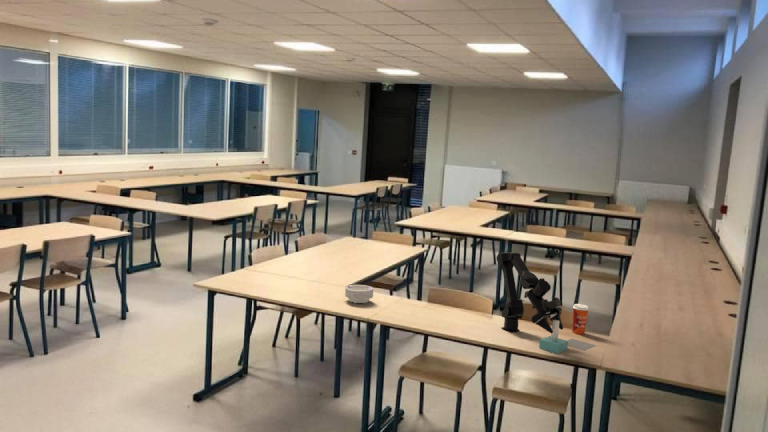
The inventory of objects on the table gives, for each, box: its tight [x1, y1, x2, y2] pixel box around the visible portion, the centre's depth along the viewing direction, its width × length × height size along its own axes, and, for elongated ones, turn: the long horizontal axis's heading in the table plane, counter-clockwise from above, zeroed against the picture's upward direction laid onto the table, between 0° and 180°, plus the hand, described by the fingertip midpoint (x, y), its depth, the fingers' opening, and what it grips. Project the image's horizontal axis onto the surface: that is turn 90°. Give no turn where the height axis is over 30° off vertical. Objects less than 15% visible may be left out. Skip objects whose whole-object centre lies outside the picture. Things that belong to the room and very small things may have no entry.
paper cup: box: [571, 303, 590, 336], centre depth 303 cm, size 8×8×14 cm
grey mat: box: [566, 338, 597, 351], centre depth 285 cm, size 12×12×1 cm
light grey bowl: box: [344, 284, 374, 304], centre depth 335 cm, size 15×15×8 cm
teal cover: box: [539, 320, 569, 355], centre depth 276 cm, size 9×9×13 cm
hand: (557, 331), depth 275 cm, fingers open, 9 cm apart
